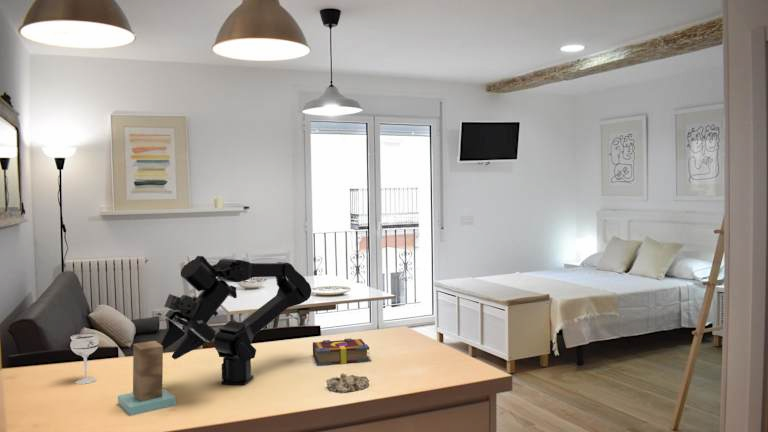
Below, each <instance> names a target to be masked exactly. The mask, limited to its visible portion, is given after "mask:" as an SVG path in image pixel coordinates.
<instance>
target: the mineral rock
mask: <svg viewBox="0 0 768 432" xmlns="http://www.w3.org/2000/svg"><path fill="white" fill-rule="evenodd" d="M325 382H326V385H327V386H326V387H327V389H329V391H330V392H334V393H338V394H339V393H340V394H345V393H353V392H356V391H361V390H365V388H368V387H369V385H370V384H369V382H370V380H369V379H368V377H367V376H358V375H354V374H352V375H347V374H346V373H340V377H338V376H336V377H331V378H330V379H329V378H328V379H326V380H325Z"/></svg>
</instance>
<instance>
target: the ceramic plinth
mask: <svg viewBox="0 0 768 432" xmlns="http://www.w3.org/2000/svg"><path fill="white" fill-rule="evenodd" d="M176 399H177V398H176V396H175V395H174V394H172V393H171V392H169V391H168V390H166V389H165V388H163V386H162V397H159V398H154V399H150V400H145V401H139V400H138V399H137V398H136V397H135V396H134V395H133V392H129V393H124V394H119V395H117V405H119V407H121V408H122V409H123V410H124V411H125V412H126V413H127V414H128V415H129V416H131V417H132V416H136V415H139V414H144V413H149V412H153V411H157V410H162V409H166V408H170V407H174V406H177V402H176V401H177V400H176Z"/></svg>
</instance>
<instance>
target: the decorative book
mask: <svg viewBox="0 0 768 432" xmlns="http://www.w3.org/2000/svg"><path fill="white" fill-rule="evenodd" d="M368 351H370V346H369V345H368V344H366V343H365V342H364V341H363V339H362V338H357V339H356V338H355V339H354V338H353V339H352V338H344V340H343V339H342V340H341V339H340V340H330V339H326V340H325V339H324V340H322V341H317V342H312V356H313V358H314V360H315V364H316V366H317V367H320V366H330V365H335V364H340V363H341V364H340V365H347V363H356V362H357V363H365V362H364V361H371V360H370V358H369V356H368V354H369V355H370V352H368Z"/></svg>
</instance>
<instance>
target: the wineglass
mask: <svg viewBox="0 0 768 432" xmlns="http://www.w3.org/2000/svg"><path fill="white" fill-rule="evenodd" d="M98 336H99V333H97V332H83V333H77V334H73V335H70V339H71V342H70V345H69V347H70V349H71V351H72V352H73V353H74V354H75V355H77V356H81V357H82V358H83V367H84V378H82V379H78V380H76V381H75V384H77V385H86V383H87V384H92V383H94V382H96V381H97V380H96V379H97V378H94V377H88V357H90V356H89V355H92V354H93V353H94V352H95V351H96V350H97V349H98V347H99V345H100V340H99V338H98ZM95 380H96V381H95ZM93 381H94V382H93ZM91 382H92V383H91Z"/></svg>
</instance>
